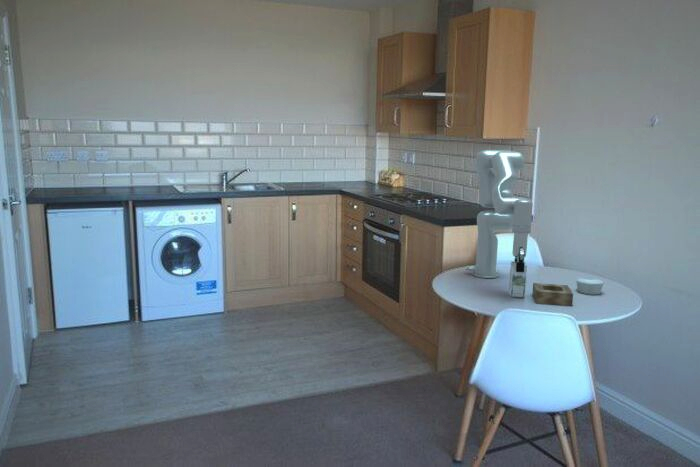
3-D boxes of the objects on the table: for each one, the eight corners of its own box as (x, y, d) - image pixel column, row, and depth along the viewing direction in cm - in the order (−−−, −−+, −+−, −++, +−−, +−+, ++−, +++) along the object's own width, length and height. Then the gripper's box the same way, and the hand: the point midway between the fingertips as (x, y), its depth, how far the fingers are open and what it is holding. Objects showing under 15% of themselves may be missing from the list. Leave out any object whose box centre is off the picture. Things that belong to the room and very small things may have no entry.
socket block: (535, 303, 238) (536, 291, 237) (532, 294, 252) (533, 282, 251) (572, 305, 235) (573, 293, 235) (566, 296, 249) (567, 285, 248)
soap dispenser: (521, 294, 251) (524, 261, 248) (524, 298, 245) (527, 264, 243) (508, 293, 251) (510, 260, 249) (510, 297, 246) (513, 263, 243)
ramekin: (595, 289, 263) (596, 277, 262) (607, 295, 252) (608, 284, 251) (571, 288, 263) (572, 277, 262) (581, 295, 252) (582, 283, 251)
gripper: (510, 226, 252) (508, 265, 255) (513, 231, 236) (511, 273, 238) (528, 227, 251) (526, 266, 253) (533, 232, 234) (530, 274, 237)
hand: (518, 269), depth 246 cm, fingers open, 9 cm apart
